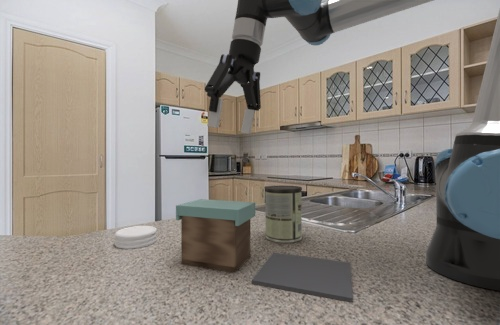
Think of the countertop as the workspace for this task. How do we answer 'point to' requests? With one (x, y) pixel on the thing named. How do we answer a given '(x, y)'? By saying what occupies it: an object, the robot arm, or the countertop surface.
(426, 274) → the countertop surface
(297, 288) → the mat
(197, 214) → the lid
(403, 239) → the countertop surface
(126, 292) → the countertop surface
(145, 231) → the coaster
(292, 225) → the coffee can
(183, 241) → the box
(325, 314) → the countertop surface
